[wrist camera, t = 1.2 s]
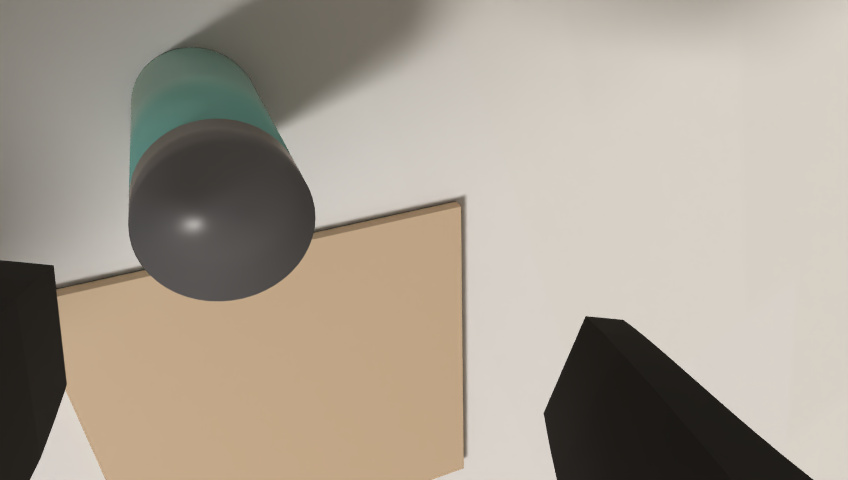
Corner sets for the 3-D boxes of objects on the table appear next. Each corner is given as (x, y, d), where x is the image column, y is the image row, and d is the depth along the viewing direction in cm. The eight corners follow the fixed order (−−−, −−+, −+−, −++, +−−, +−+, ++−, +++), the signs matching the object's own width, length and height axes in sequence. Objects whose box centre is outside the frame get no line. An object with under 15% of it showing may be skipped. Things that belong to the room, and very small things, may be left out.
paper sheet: (150, 570, 24) (150, 579, 24) (28, 295, 18) (26, 303, 17) (459, 461, 28) (463, 468, 28) (455, 201, 22) (460, 206, 21)
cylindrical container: (149, 174, 17) (155, 320, 12) (115, 56, 16) (103, 159, 10) (266, 153, 18) (324, 278, 13) (246, 40, 17) (302, 126, 11)
